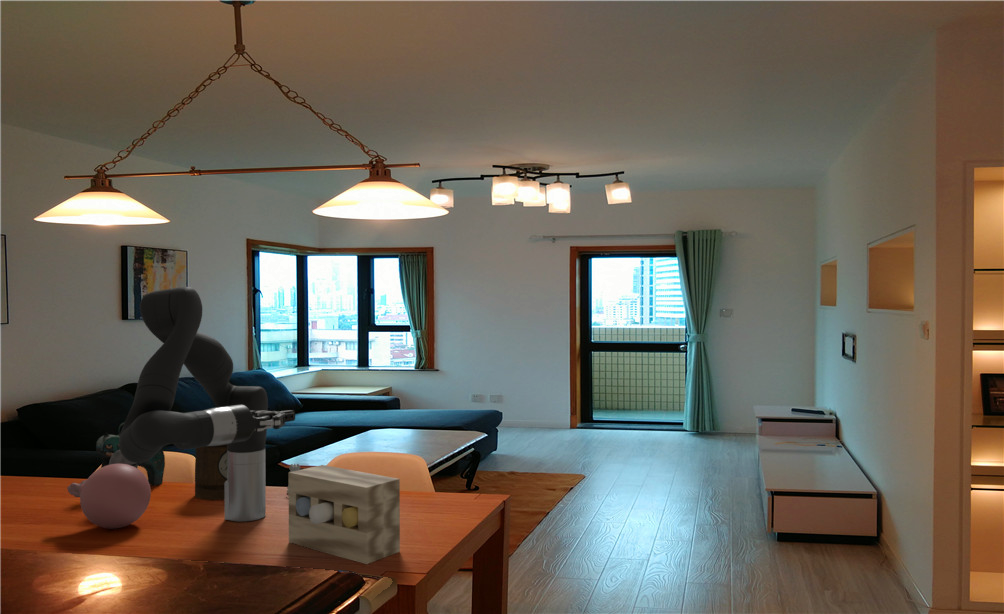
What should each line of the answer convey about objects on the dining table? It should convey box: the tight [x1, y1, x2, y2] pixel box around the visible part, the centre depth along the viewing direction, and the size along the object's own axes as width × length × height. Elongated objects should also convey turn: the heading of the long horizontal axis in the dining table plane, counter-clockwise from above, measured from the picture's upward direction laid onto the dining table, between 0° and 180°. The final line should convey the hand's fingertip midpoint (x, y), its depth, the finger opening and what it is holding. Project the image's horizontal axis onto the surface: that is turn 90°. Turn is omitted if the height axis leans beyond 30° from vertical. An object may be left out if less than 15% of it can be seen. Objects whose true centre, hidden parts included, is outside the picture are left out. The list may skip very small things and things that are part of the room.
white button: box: [309, 501, 334, 524], centre depth 171 cm, size 5×4×4 cm
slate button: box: [296, 496, 311, 516], centre depth 178 cm, size 5×4×4 cm
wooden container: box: [194, 444, 227, 501], centre depth 225 cm, size 15×15×22 cm
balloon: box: [66, 464, 152, 530], centre depth 192 cm, size 15×20×15 cm
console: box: [288, 464, 401, 565], centre depth 176 cm, size 10×25×16 cm, turn 54°
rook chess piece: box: [286, 463, 302, 494], centre depth 226 cm, size 4×4×8 cm
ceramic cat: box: [95, 421, 166, 487], centre depth 230 cm, size 20×6×20 cm, turn 147°
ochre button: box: [342, 506, 358, 527], centre depth 169 cm, size 5×4×4 cm
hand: (292, 415), depth 172 cm, fingers closed
